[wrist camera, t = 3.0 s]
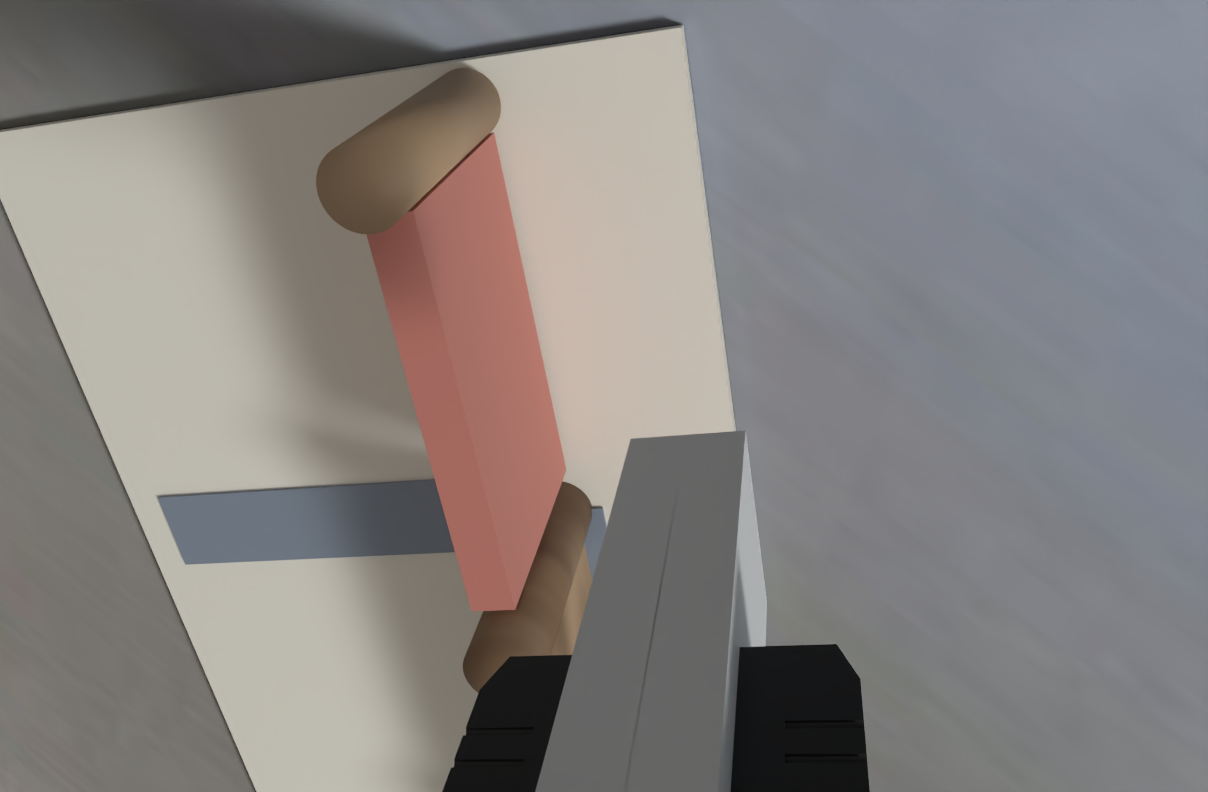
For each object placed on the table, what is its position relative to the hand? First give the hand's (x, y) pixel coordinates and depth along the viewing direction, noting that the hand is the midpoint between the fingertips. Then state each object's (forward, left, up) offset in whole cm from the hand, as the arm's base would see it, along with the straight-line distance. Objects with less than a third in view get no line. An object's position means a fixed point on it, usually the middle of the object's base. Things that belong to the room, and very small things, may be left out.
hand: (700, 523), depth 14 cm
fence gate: (+1, -6, -12) cm, 13 cm away
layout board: (+9, -10, -12) cm, 18 cm away
